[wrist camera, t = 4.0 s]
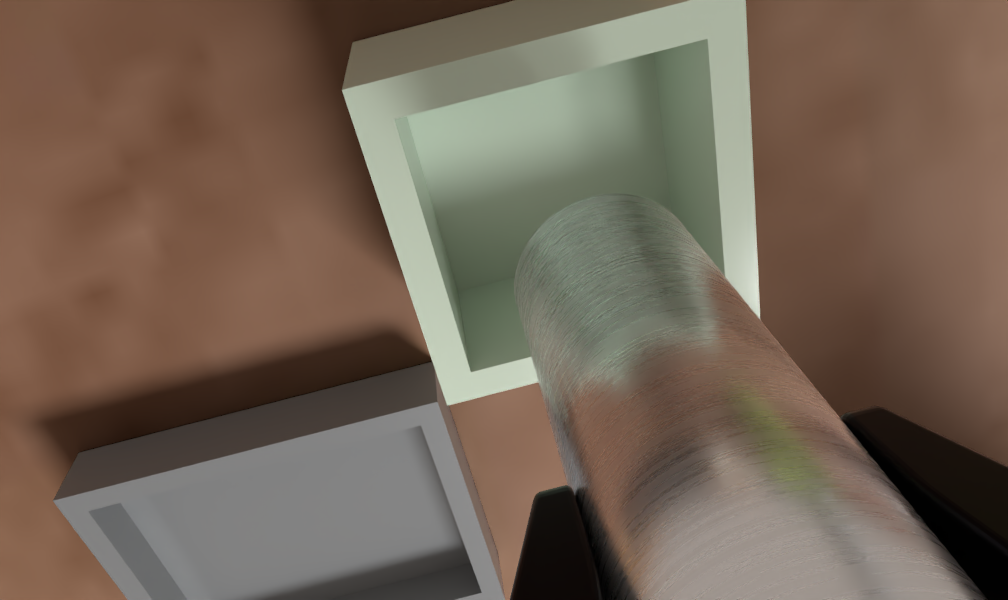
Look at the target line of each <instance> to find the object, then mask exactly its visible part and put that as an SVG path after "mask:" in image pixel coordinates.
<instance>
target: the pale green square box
mask: <svg viewBox="0 0 1008 600" xmlns="http://www.w3.org/2000/svg"><path fill="white" fill-rule="evenodd" d="M342 92H343V95H344V98H345V101H346V104H347V107H348V110H349V113H350V116H351V119H352V122H353V125H354V128H355V131H356V134H357V137H358V140H359V143H360V146H361V149H362V152H363V155H364V158H365V161H366V164H367V167H368V170H369V173H370V176H371V179H372V182H373V185H374V188H375V191H376V194H377V197H378V200H379V203H380V206H381V209H382V212H383V215H384V218H385V221H386V224H387V227H388V230H389V233H390V236H391V239H392V242H393V245H394V248H395V251H396V254H397V257H398V260H399V263H400V266H401V269H402V272H403V275H404V278H405V281H406V284H407V287H408V290H409V293H410V296H411V299H412V302H413V305H414V308H415V311H416V314H417V317H418V320H419V323H420V326H421V329H422V332H423V335H424V338H425V341H426V344H427V347H428V350H429V353H430V356H431V359H432V362H433V365H434V368H435V371H436V374H437V377H438V380H439V383H440V386H441V389H442V392H443V395H444V398H445V401H446V404H447V406H448V405H452V404H456V403H459V402H463V401H467V400H471V399H475V398H479V397H483V396H487V395H491V394H494V393H498V392H502V391H506V390H510V389H514V388H518V387H522V386H525V385H529V384H533V383H537V382H538V378H537V375H536V371H535V368H534V364H533V361H532V357H531V354H530V350H529V347H528V343H527V340H526V336H525V333H524V329H523V326H522V322H521V319H520V315H519V312H518V308H517V305H516V300H515V295H514V278H515V271H516V267H517V264H518V260H519V258H520V255H521V253H522V251H523V249H524V247H525V245H526V244H527V242H528V240H529V239H530V238H531V236H532V235H533V234H534V232H535V231H536V230H537V229H538V228H539V227H540V226H541V225H542V224H543V223H544V222H545V221H546V220H547V219H548V218H550V217H551V216H552V215H553V214H555V213H556V212H558V211H559V210H561V209H563V208H564V207H566V206H568V205H570V204H572V203H574V202H577V201H579V200H582V199H585V198H588V197H591V196H596V195H601V194H612V193H622V194H632V195H637V196H641V197H644V198H647V199H650V200H653V201H655V202H657V203H659V204H661V205H662V206H664V207H665V208H666V209H668V210H669V211H671V212H672V213H673V214H674V215H675V216H676V217H677V218H678V219H679V220H680V222H681V223H682V224H683V225H684V227H685V228H686V229H687V230H688V231H689V233H690V234H691V235H692V236H693V238H694V239H695V240H696V241H697V243H698V244H699V245H700V246H701V247H702V249H703V250H704V251H705V252H706V254H707V255H708V256H709V257H710V259H711V260H712V261H713V262H714V263H715V265H716V266H717V267H718V268H719V270H720V271H721V272H722V273H723V275H724V276H725V277H726V278H727V279H728V281H729V282H730V283H731V284H732V286H733V287H734V288H735V289H736V291H737V292H738V293H739V294H740V295H741V297H742V298H743V299H744V300H745V302H746V303H747V304H748V305H749V307H750V308H751V309H752V310H753V311H754V313H755V314H756V315H757V316H758V318H759V319H760V302H759V280H758V258H757V237H756V215H755V194H754V172H753V150H752V129H751V107H750V85H749V64H748V42H747V21H746V0H514V1H511V2H507V3H503V4H499V5H495V6H491V7H487V8H483V9H479V10H476V11H472V12H468V13H464V14H460V15H456V16H452V17H448V18H445V19H441V20H437V21H433V22H429V23H425V24H421V25H417V26H413V27H410V28H406V29H402V30H398V31H394V32H390V33H386V34H382V35H379V36H375V37H371V38H367V39H363V40H359V41H355V42H353V43H352V47H351V52H350V56H349V61H348V65H347V69H346V74H345V78H344V83H343V87H342Z"/></svg>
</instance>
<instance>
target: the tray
mask: <svg viewBox="0 0 1008 600" xmlns="http://www.w3.org/2000/svg"><path fill="white" fill-rule="evenodd" d="M53 502H54V503H55V504H56V505H57V507H58V508H59V509H60V511H61V512H62V513H63V515H64V516H65V517H66V519H67V520H68V521H69V523H70V524H71V525H72V527H73V528H74V529H75V531H76V532H77V533H78V535H79V536H80V537H81V539H82V540H83V541H84V542H85V544H86V545H87V546H88V548H89V549H90V550H91V552H92V553H93V554H94V556H95V557H96V558H97V560H98V561H99V562H100V564H101V565H102V566H103V568H104V569H105V570H106V572H107V573H108V574H109V576H110V577H111V578H112V580H113V581H114V582H115V583H116V585H117V586H118V587H119V589H120V590H121V591H122V593H123V594H124V595H125V597H126V598H127V599H128V600H505V595H504V589H503V582H502V576H501V569H500V563H499V556H498V552H497V549H496V546H495V543H494V540H493V537H492V534H491V531H490V528H489V525H488V522H487V519H486V516H485V513H484V510H483V507H482V504H481V501H480V498H479V495H478V492H477V489H476V486H475V483H474V480H473V477H472V474H471V471H470V468H469V465H468V462H467V459H466V456H465V453H464V450H463V447H462V444H461V441H460V438H459V435H458V432H457V429H456V426H455V423H454V420H453V417H452V414H451V411H450V408H449V405H448V406H447V404H446V401H445V398H444V395H443V392H442V389H441V386H440V383H439V380H438V377H437V374H436V371H435V368H434V365H433V362H429V363H425V364H421V365H417V366H413V367H410V368H406V369H402V370H398V371H394V372H390V373H386V374H382V375H379V376H375V377H371V378H367V379H363V380H359V381H355V382H351V383H347V384H344V385H340V386H336V387H332V388H328V389H324V390H320V391H316V392H313V393H309V394H305V395H301V396H297V397H293V398H289V399H285V400H281V401H278V402H274V403H270V404H266V405H262V406H258V407H254V408H250V409H247V410H243V411H239V412H235V413H231V414H227V415H223V416H219V417H215V418H212V419H208V420H204V421H200V422H196V423H192V424H188V425H184V426H181V427H177V428H173V429H169V430H165V431H161V432H157V433H153V434H150V435H146V436H142V437H138V438H134V439H130V440H126V441H122V442H118V443H115V444H111V445H107V446H103V447H99V448H95V449H91V450H87V451H84V452H80V453H78V455H77V457H76V459H75V461H74V462H73V464H72V466H71V468H70V470H69V472H68V474H67V476H66V477H65V479H64V481H63V483H62V485H61V487H60V489H59V491H58V492H57V494H56V496H55V498H54V500H53Z"/></svg>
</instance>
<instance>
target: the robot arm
mask: <svg viewBox="0 0 1008 600" xmlns="http://www.w3.org/2000/svg"><path fill="white" fill-rule="evenodd" d="M840 419H841V420H842V421H843V422H844V423H845V425H846V426H847V427H848V428H849V430H850V431H851V432H852V433H853V435H854V436H855V437H856V438H857V439H858V441H859V442H860V443H861V444H862V446H863V447H864V448H865V449H866V451H867V452H868V453H869V454H870V455H871V457H872V458H873V459H874V460H875V462H876V463H877V464H878V465H879V467H880V468H881V469H882V470H883V471H884V473H885V474H886V475H887V476H888V478H889V479H890V480H891V481H892V482H893V484H894V485H895V486H896V487H897V489H898V490H899V491H900V492H901V494H902V495H903V496H904V497H905V498H906V500H907V501H908V502H909V503H910V505H911V506H912V507H913V508H914V510H915V511H916V512H917V513H918V514H919V516H920V517H921V518H922V519H923V521H924V522H925V523H926V524H927V526H928V527H929V528H930V529H931V530H932V532H933V533H934V534H935V535H936V537H937V538H938V539H939V540H940V542H941V543H942V544H943V545H944V546H945V548H946V549H947V550H948V551H949V553H950V554H951V555H952V556H953V558H954V559H955V560H956V561H957V562H958V564H959V565H960V566H961V567H962V569H963V570H964V571H965V572H966V574H967V575H968V576H969V577H970V578H971V580H972V581H973V582H974V583H975V585H976V586H977V587H978V588H979V590H980V591H981V592H982V593H983V594H984V596H985V597H986V598H987V599H988V600H1008V466H1006V465H1004V464H1002V463H1000V462H998V461H995V460H993V459H991V458H989V457H987V456H985V455H983V454H981V453H979V452H976V451H974V450H972V449H970V448H968V447H966V446H964V445H962V444H960V443H957V442H955V441H953V440H951V439H949V438H947V437H945V436H943V435H941V434H938V433H936V432H934V431H932V430H930V429H928V428H926V427H924V426H921V425H919V424H917V423H915V422H913V421H911V420H909V419H907V418H905V417H902V416H900V415H898V414H896V413H894V412H892V411H890V410H888V409H885V408H883V407H879V406H871V407H867V408H863V409H860V410H856V411H852V412H848V413H845V414H843V415H842V416H841V417H840ZM510 600H604V597H603V593H602V588H601V584H600V580H599V575H598V571H597V567H596V564H595V560H594V557H593V553H592V550H591V547H590V544H589V540H588V537H587V534H586V530H585V527H584V524H583V521H582V517H581V514H580V511H579V507H578V504H577V501H576V498H575V494H574V491H573V489H572V488H571V487H570V486H567V485H565V486H561V487H557V488H553V489H549V490H545V491H542V492H539V493H537V494H536V496H535V498H534V500H533V504H532V508H531V512H530V517H529V521H528V525H527V529H526V534H525V538H524V542H523V546H522V551H521V555H520V559H519V563H518V567H517V572H516V576H515V580H514V584H513V589H512V593H511V597H510Z"/></svg>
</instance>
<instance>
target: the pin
mask: <svg viewBox="0 0 1008 600" xmlns="http://www.w3.org/2000/svg"><path fill="white" fill-rule="evenodd" d="M514 295H515V300H516V305H517V308H518V312H519V315H520V319H521V322H522V326H523V329H524V333H525V336H526V340H527V343H528V347H529V350H530V354H531V357H532V361H533V364H534V368H535V371H536V375H537V378H538V382H539V385H540V389H541V392H542V396H543V399H544V403H545V406H546V410H547V413H548V417H549V420H550V424H551V427H552V431H553V434H554V438H555V441H556V445H557V448H558V452H559V455H560V459H561V462H562V466H563V469H564V473H565V476H566V480H567V483H568V486H570V487H571V488H572V489H573V491H574V494H575V498H576V501H577V504H578V507H579V511H580V514H581V517H582V521H583V524H584V527H585V530H586V534H587V537H588V540H589V544H590V547H591V550H592V553H593V557H594V560H595V564H596V567H597V571H598V575H599V580H600V584H601V588H602V593H603V597H604V600H988V599H987V598H986V597H985V596H984V594H983V593H982V592H981V591H980V590H979V588H978V587H977V586H976V585H975V583H974V582H973V581H972V580H971V578H970V577H969V576H968V575H967V574H966V572H965V571H964V570H963V569H962V567H961V566H960V565H959V564H958V562H957V561H956V560H955V559H954V558H953V556H952V555H951V554H950V553H949V551H948V550H947V549H946V548H945V546H944V545H943V544H942V543H941V542H940V540H939V539H938V538H937V537H936V535H935V534H934V533H933V532H932V530H931V529H930V528H929V527H928V526H927V524H926V523H925V522H924V521H923V519H922V518H921V517H920V516H919V514H918V513H917V512H916V511H915V510H914V508H913V507H912V506H911V505H910V503H909V502H908V501H907V500H906V498H905V497H904V496H903V495H902V494H901V492H900V491H899V490H898V489H897V487H896V486H895V485H894V484H893V482H892V481H891V480H890V479H889V478H888V476H887V475H886V474H885V473H884V471H883V470H882V469H881V468H880V467H879V465H878V464H877V463H876V462H875V460H874V459H873V458H872V457H871V455H870V454H869V453H868V452H867V451H866V449H865V448H864V447H863V446H862V444H861V443H860V442H859V441H858V439H857V438H856V437H855V436H854V435H853V433H852V432H851V431H850V430H849V428H848V427H847V426H846V425H845V423H844V422H843V421H842V420H841V419H840V417H839V416H838V415H837V414H836V412H835V411H834V410H833V409H832V407H831V406H830V405H829V404H828V403H827V401H826V400H825V399H824V398H823V396H822V395H821V394H820V393H819V391H818V390H817V389H816V388H815V387H814V385H813V384H812V383H811V382H810V380H809V379H808V378H807V377H806V375H805V374H804V373H803V372H802V371H801V369H800V368H799V367H798V366H797V364H796V363H795V362H794V361H793V359H792V358H791V357H790V356H789V355H788V353H787V352H786V351H785V350H784V348H783V347H782V346H781V345H780V343H779V342H778V341H777V340H776V339H775V337H774V336H773V335H772V334H771V332H770V331H769V330H768V329H767V327H766V326H765V325H764V324H763V323H762V321H761V320H760V319H759V318H758V316H757V315H756V314H755V313H754V311H753V310H752V309H751V308H750V307H749V305H748V304H747V303H746V302H745V300H744V299H743V298H742V297H741V295H740V294H739V293H738V292H737V291H736V289H735V288H734V287H733V286H732V284H731V283H730V282H729V281H728V279H727V278H726V277H725V276H724V275H723V273H722V272H721V271H720V270H719V268H718V267H717V266H716V265H715V263H714V262H713V261H712V260H711V259H710V257H709V256H708V255H707V254H706V252H705V251H704V250H703V249H702V247H701V246H700V245H699V244H698V243H697V241H696V240H695V239H694V238H693V236H692V235H691V234H690V233H689V231H688V230H687V229H686V228H685V227H684V225H683V224H682V223H681V222H680V220H679V219H678V218H677V217H676V216H675V215H674V214H673V213H672V212H671V211H669V210H668V209H666V208H665V207H664V206H662V205H661V204H659V203H657V202H655V201H653V200H650V199H647V198H644V197H641V196H637V195H632V194H622V193H612V194H601V195H596V196H591V197H588V198H585V199H582V200H579V201H577V202H574V203H572V204H570V205H568V206H566V207H564V208H563V209H561V210H559V211H558V212H556V213H555V214H553V215H552V216H551V217H550V218H548V219H547V220H546V221H545V222H544V223H543V224H542V225H541V226H540V227H539V228H538V229H537V230H536V231H535V232H534V234H533V235H532V236H531V238H530V239H529V240H528V242H527V244H526V245H525V247H524V249H523V251H522V253H521V255H520V258H519V260H518V264H517V267H516V271H515V278H514Z"/></svg>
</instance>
